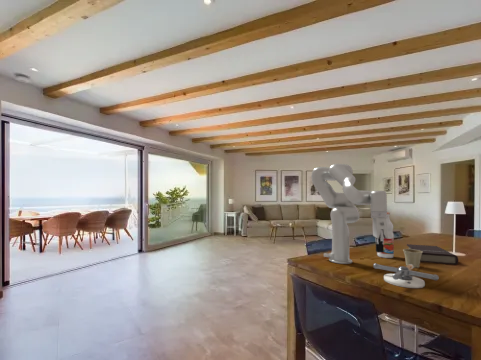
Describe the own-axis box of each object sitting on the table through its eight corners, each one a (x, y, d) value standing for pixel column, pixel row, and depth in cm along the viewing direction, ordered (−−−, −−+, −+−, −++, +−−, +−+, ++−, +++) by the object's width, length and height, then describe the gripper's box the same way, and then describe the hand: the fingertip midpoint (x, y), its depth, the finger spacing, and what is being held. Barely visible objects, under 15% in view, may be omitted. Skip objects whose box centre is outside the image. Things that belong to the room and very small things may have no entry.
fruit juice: (383, 254, 186) (383, 211, 187) (397, 257, 178) (396, 212, 179) (373, 255, 181) (374, 211, 182) (387, 258, 173) (387, 213, 174)
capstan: (432, 292, 110) (431, 280, 110) (362, 277, 128) (362, 266, 128) (444, 278, 128) (444, 268, 129) (382, 266, 147) (382, 257, 147)
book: (458, 265, 162) (458, 255, 162) (419, 262, 167) (419, 252, 168) (439, 255, 188) (439, 246, 189) (406, 252, 194) (406, 244, 194)
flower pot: (425, 269, 151) (425, 253, 151) (406, 268, 153) (406, 251, 153) (418, 264, 160) (418, 249, 160) (400, 263, 162) (400, 248, 162)
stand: (389, 286, 122) (389, 281, 122) (379, 275, 138) (379, 271, 138) (431, 289, 119) (431, 285, 119) (416, 278, 134) (416, 274, 134)
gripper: (391, 216, 135) (392, 255, 134) (382, 214, 149) (383, 249, 148) (374, 215, 136) (375, 254, 135) (367, 214, 151) (368, 249, 150)
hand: (379, 251), depth 142 cm, fingers closed
